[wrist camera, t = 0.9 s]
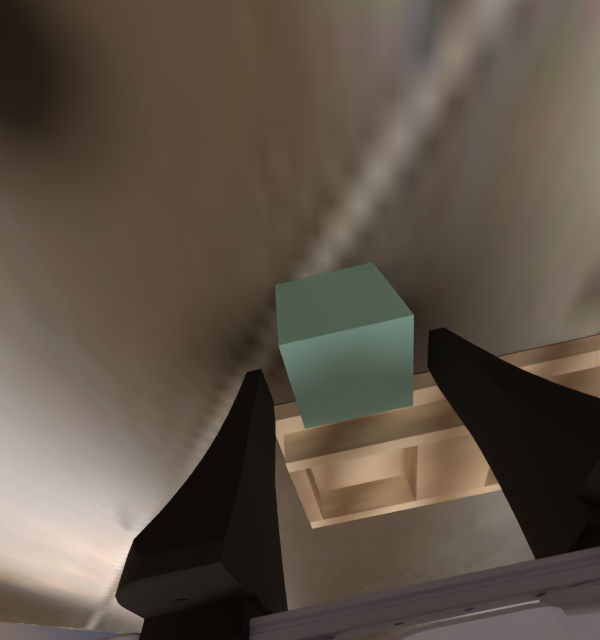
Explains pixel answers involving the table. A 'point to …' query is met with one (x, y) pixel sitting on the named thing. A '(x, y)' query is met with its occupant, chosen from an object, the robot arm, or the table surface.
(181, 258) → the table surface
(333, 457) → the assembly board
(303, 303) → the teal block
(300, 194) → the table surface
